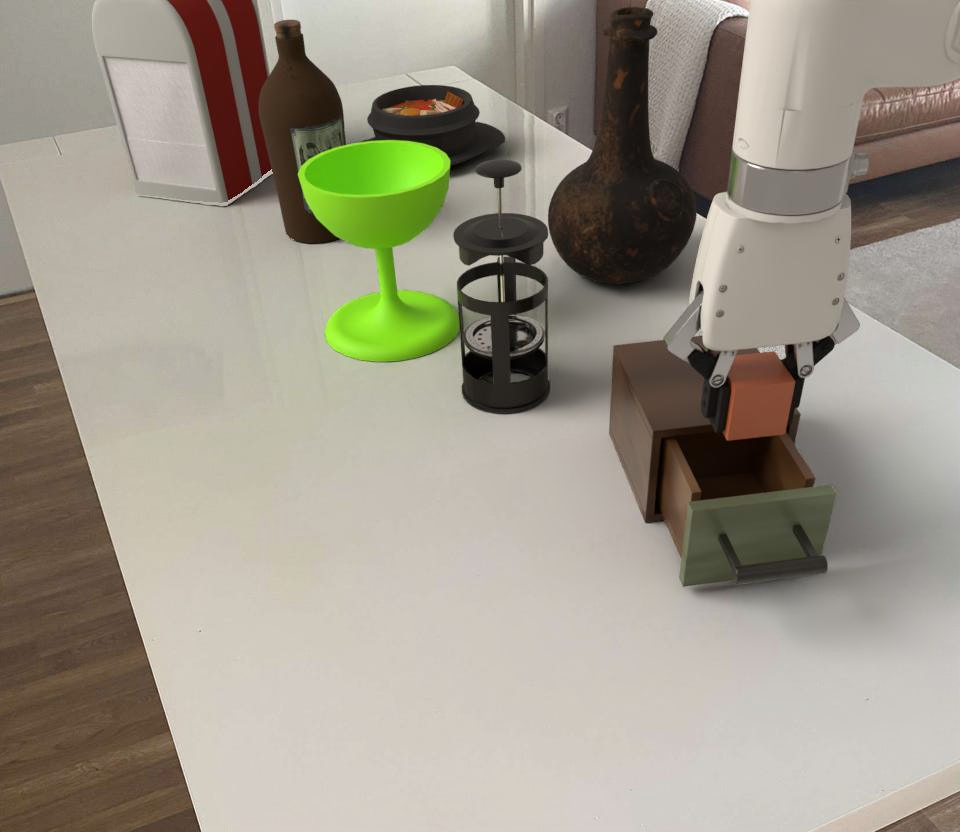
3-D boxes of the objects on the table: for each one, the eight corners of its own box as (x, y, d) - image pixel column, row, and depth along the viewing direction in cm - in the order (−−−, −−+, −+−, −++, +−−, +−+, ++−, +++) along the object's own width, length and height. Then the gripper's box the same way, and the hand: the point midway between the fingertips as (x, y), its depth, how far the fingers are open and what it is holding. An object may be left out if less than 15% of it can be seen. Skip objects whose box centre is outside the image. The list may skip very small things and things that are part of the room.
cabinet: (782, 506, 91) (801, 413, 84) (645, 523, 90) (652, 431, 83) (732, 418, 101) (745, 330, 94) (608, 433, 100) (613, 345, 93)
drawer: (842, 613, 79) (864, 536, 74) (701, 631, 78) (712, 555, 73) (763, 475, 92) (777, 401, 87) (642, 489, 92) (648, 415, 86)
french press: (548, 417, 103) (548, 186, 86) (456, 417, 103) (439, 187, 87) (552, 359, 111) (553, 137, 95) (467, 359, 112) (453, 140, 96)
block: (765, 403, 81) (774, 350, 78) (785, 434, 78) (795, 381, 74) (709, 409, 81) (716, 357, 77) (727, 441, 77) (735, 388, 74)
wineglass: (482, 341, 114) (474, 177, 102) (348, 374, 111) (322, 209, 98) (432, 284, 125) (419, 130, 112) (308, 313, 121) (280, 157, 109)
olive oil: (268, 228, 140) (227, 23, 122) (334, 207, 144) (305, 6, 126) (304, 253, 133) (267, 40, 116) (372, 231, 137) (347, 22, 120)
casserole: (478, 126, 165) (476, 69, 159) (525, 163, 153) (524, 103, 147) (332, 154, 159) (324, 96, 153) (368, 195, 147) (360, 133, 141)
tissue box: (133, 196, 151) (73, -15, 132) (199, 154, 162) (152, -45, 143) (227, 207, 146) (178, -9, 127) (288, 163, 157) (252, -42, 138)
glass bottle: (612, 316, 117) (625, 45, 97) (518, 265, 128) (513, 12, 108) (721, 270, 124) (754, 9, 104) (623, 226, 135) (637, -19, 115)
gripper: (887, 147, 69) (834, 383, 82) (646, 170, 68) (630, 405, 81) (936, 188, 64) (871, 433, 77) (675, 214, 63) (653, 458, 76)
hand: (747, 417), depth 79 cm, fingers closed on block, 4 cm apart
